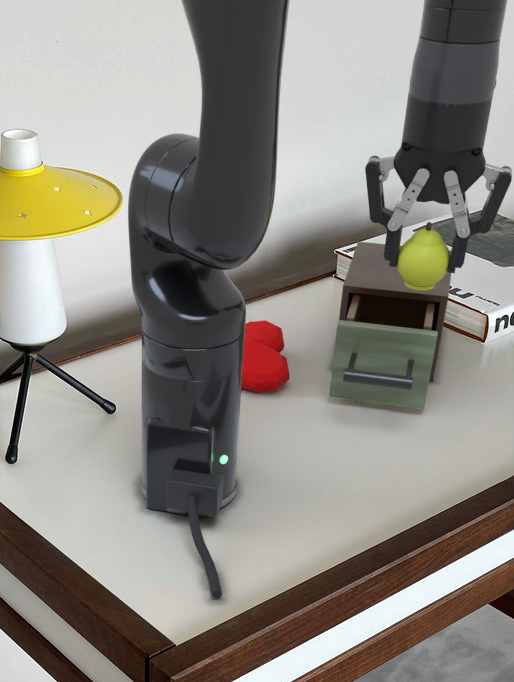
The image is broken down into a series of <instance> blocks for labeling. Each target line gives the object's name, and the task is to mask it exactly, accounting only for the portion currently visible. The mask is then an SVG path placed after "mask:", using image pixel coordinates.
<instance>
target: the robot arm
mask: <svg viewBox="0 0 514 682" xmlns="http://www.w3.org/2000/svg"><path fill="white" fill-rule="evenodd" d="M180 1H181V5H182V9H183V13H184V16H185V19H186V22H187V24H188V29H189V31H190V34H191V38H192V42H193V45H194V50H195V54H196V57H197V62H198V70H199V74H200V87H201V110H200V121H199V122H200V123H199V133H198V136H195V135H191V134H188V133H169V134H165V135H163V136H161V137H159V138H157V139H155V140H154V141H153V142H151V144H150V145H148V147H146V149H145V150H144V151H143V152H142V153H141V155H140V157H139V159H138V160H137V163H136V165H135V166H134V167H135V168H134V170H133V172H132V177H131V180H130V184H129V190H128V199H127V200H128V201H127V225H128V227H127V228H128V229H127V230H128V244H129V246H128V247H129V260H130V261H129V262H130V277H131V279H130V280H131V288H132V294H133V296H134V297H133V298H134V299H135V302H136V304H137V306H138V309H139V311H140V318H141V324H140V325H141V478H140V491H141V494H142V496H143V497H144V498H145V507H146V508H147V509H150V510H156V511H163V512H168V513H174V514H180V515H186V516H187V515H188V522H189V528H190V532H191V537H192V540H193V543H194V546H195V548H196V550H197V554H198V555H199V557H200V559H201V561H202V563H203V566H204V569H205V572H206V575H207V578H208V583H209V584H208V585H209V588H210V593H211V597H212V598H213V599H220V598H221V597H222V596H223V592H222V587H221V583H220V578H219V574H218V570H217V568H216V565H215V562H214V560H213V557H212V555H211V553H210V551H209V549H208V547H207V545H206V542H205V539H204V537H203V533H202V529H201V523H200V518H205V519H207V518H209V517H217V516H218V513H219V511H220V509H221V508H222V509H223V508H224V507H225V506H227V505H229V503H230V502H231V501H232V500H233V499H234V498H235V496H236V494H237V487H238V480H237V467H238V450H239V436H240V435H239V434H240V417H241V403H242V402H241V401H242V388H241V386H242V370H243V356H244V340H245V324H246V323H247V305H246V304H247V303H246V300H245V297H244V296H243V293H241V291H240V289H239V288H238V287H237V286H236V284H235V283H234V282H233V281H232V280H231V278H230V277H229V276H228V275H227V273H226V272H225V271H228V270H233V269H236V268H238V267H241V266H242V265H243V264H245V263H246V262H247V261H248V260H250V259H251V257H252V256H253V255H254V254H256V252H257V250H258V248H259V247H260V245H261V244H262V242H263V240H264V238H265V235H266V234H267V231H268V228H269V225H270V221H271V218H272V214H273V208H274V203H275V195H276V187H277V170H278V169H277V168H278V147H279V146H278V145H279V126H280V125H279V124H280V123H279V122H280V101H281V86H282V73H283V65H284V54H285V46H286V38H287V28H288V19H289V10H290V0H180ZM507 5H508V0H423V6H422V7H423V8H422V14H421V20H420V21H421V22H420V29H419V36H418V40H417V43H416V49H415V52H414V56H413V60H412V65H411V72H410V77H409V86H408V94H407V101H406V108H405V115H404V123H403V129H402V137H401V143H400V144H401V145H400V147H399V149H398V150H397V152H396V153H395V155H394V156H387V157H386V156H385V157H379V156H378V155H371V156H370V157H369V158H368V161H367V162H366V165H365V167H364V171H365V181H366V191H367V201H368V210H369V220H370V222H372V223H373V224H380V225H382V226H383V227H385V229H386V236H385V243H384V244H385V249H384V258H385V260H389V261H390V263H389V266H392V267H396V265H397V258H398V253H399V249H400V246H401V240H402V235H403V227H404V225H403V222H404V220H405V218H406V217H407V215H408V214H409V213H410V211H411V209H412V207H413V205H414V204H415V202H416V203H429V202H435V203H438V204H441V205H449V206H450V210H451V214H452V217H453V220H454V225H455V230H454V233H453V238H452V244H451V250H450V251H451V256H450V262H449V267H448V273H451V274H455V273H456V268H457V269H461V268H462V267H463V266H464V264H465V259H466V253H467V248H468V243H469V239H470V238H471V237H472V236H473V235H476V234H483V235H484V234H487V233H489V232H490V230H491V229H492V226H493V224H494V221H495V219H496V217H497V215H498V212H499V210H500V208H501V206H502V203H503V201H504V199H505V196H506V194H507V192H508V190H509V187H510V185H511V183H512V179H513V170H512V168H511V166H507V165H505V166H502V167H500V166H496V165H493V164H490V163H487V161H486V158H485V155H484V147H485V141H486V137H487V130H488V124H489V120H490V114H491V109H492V102H493V98H494V93H495V89H496V87H497V75H498V71H499V61H500V45H501V38H502V33H503V27H504V21H505V16H506V11H507ZM391 170H394V171H395V172H396V175H398V178H399V179H400V181H401V183H402V184H403V186H404V190H403V191H402V193H401V194H400V198H399V199H398V201H397V203H396V205H395V206H394V209H393V210H392V209H390V208H387V207H386V204H385V203H386V202H385V193H384V182H386V181H387V180H388V178H389V176H390V171H391ZM481 177H484V178H485V188H486V189H485V190H487V191H488V194H487V197H486V200H485V202H484V204H483V207H482V209H481V211H480V214H479V215H477V216H473V217H471V215H470V210H469V204H468V199H467V194H466V192H467V191H468V190H469V189H470V188H472V186H473V185H475V183H476V182H477V181H478V180H479V179H480V178H481Z"/></svg>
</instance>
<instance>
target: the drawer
mask: <svg viewBox="0 0 514 682" xmlns="http://www.w3.org/2000/svg"><path fill="white" fill-rule="evenodd" d="M434 307H435V302H432V301H423V300H413V299H404V298H395V297H386V296H377V295H367V294H358V293H354V296H353V299H352V302H351V305H350V309H349V312H348V315H347V319H346V321H344V320H339V319H338V321H337V325H336V334H335V341H334V349H333V358H332V359H333V360H332V368H331V376H330V382H329V383H330V384H329V392H328V397H329V398H335V399H343V400H350V401H358V402H365V403H373V404H380V405H388V406H395V407H403V408H409V409H417V410H425V407H426V400H427V395H428V391H429V385H430V382H429V379H430V374H431V368H432V363H433V357H434V352H435V346H436V340H437V334H438V331H431V327H432V321H433V314H434Z"/></svg>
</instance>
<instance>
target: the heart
mask: <svg viewBox="0 0 514 682" xmlns="http://www.w3.org/2000/svg"><path fill="white" fill-rule="evenodd" d="M284 349H285V340H284V334H283V328H282V327H280V326H278V325H276V324H274V323H272V322H270V321H268V320H266V319H265V320H256V321H248V322H246V323H245V340H244V356H243V370H242V386H241V389H245V390H248V391H250V392H255V393H265V392H275V391H278V390H279V389H280V388H281V387H282V386H283V385H284V384H286V383H287V382H288V381H289V380H290V376H291V375H290V368H289V363H288V359H287V357H286V356H285V355H283V354H281V353H282V351H284Z"/></svg>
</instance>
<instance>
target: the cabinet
mask: <svg viewBox="0 0 514 682" xmlns="http://www.w3.org/2000/svg"><path fill="white" fill-rule="evenodd" d="M402 246H403V245H400V249H401V247H402ZM384 249H385V243H376V242H367V241H357V244H356V246H355V249H354V252H353V255H352V258H351V261H350V264H349V267H348V270H347V272H346V276H345V278H344V282H343V285H342V290H341V291H342V292H341V299H340V309H339V317H338V321H339V320H344V321H346V319H347V315H348V312H349V309H350V305H351V302H352V299H353V296H354V293H358V294H367V295H377V296H386V297H395V298H404V299H413V300H423V301H432V302H435V307H434V314H433V321H432V327H431V331H438V334H437V340H436V346H435V352H434V357H433V363H432V368H431V374H430V379H429V383H434V378H435V373H436V368H437V363H438V357H439V352H440V347H441V346H440V345H441V340H442V336H443V330H444V323H445V319H446V314H447V313H446V312H447V307H448V302H449V297H450V296H449V295H450V288H451V281H452V273H448V271H447V272H446V274H445V275H444V277H443V278H442V279H441V280H440V281H438V282H437V283H435V286H434V288H433V289H430V290H414V289H410V288H408V287H407V286H405V280H404V279H403V278H402V277H401V275H400V273H399V271H398V268H397V265H396V267H392V266H389V263H390V261H389V260H385V258H384ZM400 249H399V251H400ZM449 252H450V256H451V250H450V249H449Z"/></svg>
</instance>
